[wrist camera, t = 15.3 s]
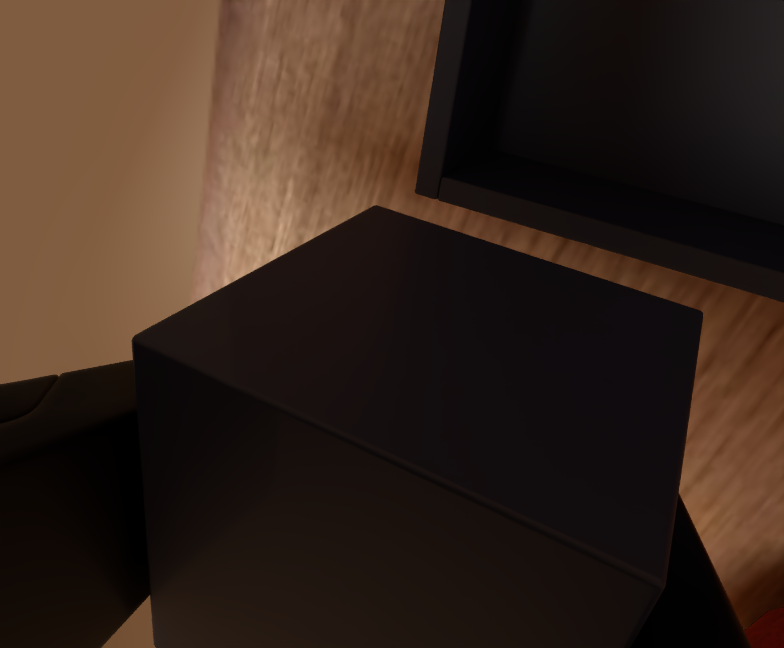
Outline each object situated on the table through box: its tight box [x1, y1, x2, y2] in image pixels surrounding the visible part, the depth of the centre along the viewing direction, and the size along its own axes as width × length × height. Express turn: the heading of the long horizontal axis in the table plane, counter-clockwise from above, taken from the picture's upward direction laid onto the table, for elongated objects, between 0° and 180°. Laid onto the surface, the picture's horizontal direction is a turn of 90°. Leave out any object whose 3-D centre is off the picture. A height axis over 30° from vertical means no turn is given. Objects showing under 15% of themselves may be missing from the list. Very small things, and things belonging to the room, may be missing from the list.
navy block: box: [132, 205, 703, 648], centre depth 8 cm, size 4×4×4 cm
